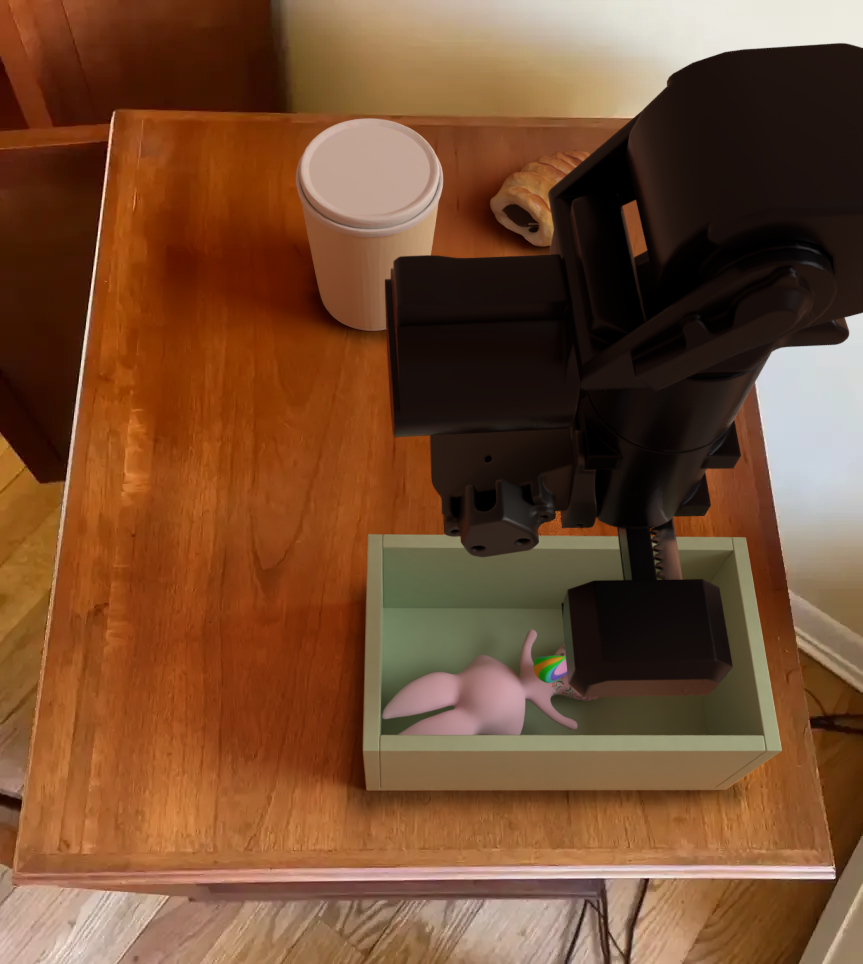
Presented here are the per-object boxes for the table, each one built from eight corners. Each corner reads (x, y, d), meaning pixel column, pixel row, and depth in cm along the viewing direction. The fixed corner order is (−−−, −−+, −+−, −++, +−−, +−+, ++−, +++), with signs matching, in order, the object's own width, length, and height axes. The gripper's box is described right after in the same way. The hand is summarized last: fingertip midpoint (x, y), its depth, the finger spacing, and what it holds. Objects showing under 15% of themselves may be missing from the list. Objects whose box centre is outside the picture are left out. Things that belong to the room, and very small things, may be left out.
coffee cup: (434, 240, 77) (441, 114, 66) (438, 341, 72) (446, 223, 62) (310, 239, 76) (297, 113, 66) (306, 341, 72) (292, 223, 61)
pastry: (557, 152, 82) (564, 115, 78) (624, 196, 80) (635, 160, 76) (481, 216, 78) (486, 180, 75) (550, 264, 76) (558, 229, 73)
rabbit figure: (580, 628, 63) (359, 687, 57) (622, 585, 59) (387, 643, 52) (623, 722, 61) (397, 794, 54) (672, 684, 56) (431, 759, 49)
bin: (699, 600, 64) (746, 536, 55) (725, 790, 58) (782, 751, 50) (370, 598, 63) (367, 533, 55) (366, 790, 57) (362, 750, 49)
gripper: (439, 197, 42) (428, 402, 56) (455, 628, 33) (438, 744, 47) (706, 198, 42) (630, 401, 56) (792, 623, 33) (677, 740, 47)
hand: (591, 556), depth 52 cm, fingers open, 9 cm apart
